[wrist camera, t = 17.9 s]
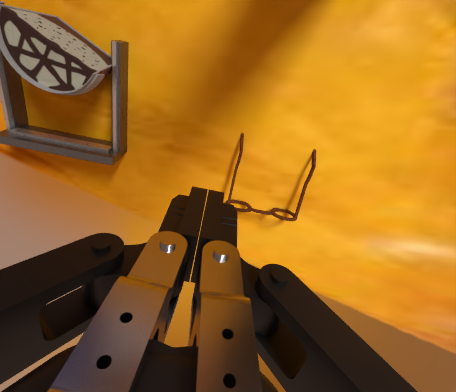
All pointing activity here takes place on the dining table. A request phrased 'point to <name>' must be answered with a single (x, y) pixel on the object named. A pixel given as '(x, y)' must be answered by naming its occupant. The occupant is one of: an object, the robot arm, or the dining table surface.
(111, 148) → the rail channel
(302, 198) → the glasses
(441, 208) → the dining table surface
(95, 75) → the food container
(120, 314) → the robot arm
